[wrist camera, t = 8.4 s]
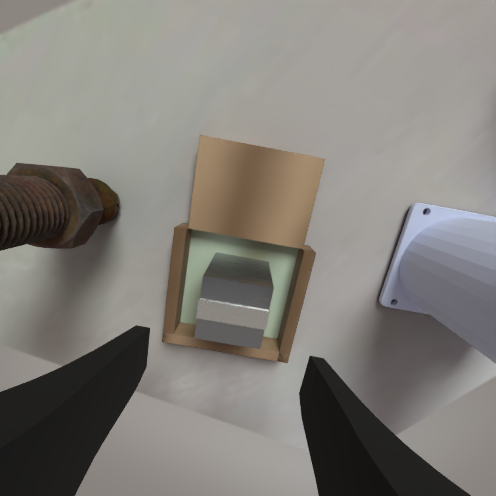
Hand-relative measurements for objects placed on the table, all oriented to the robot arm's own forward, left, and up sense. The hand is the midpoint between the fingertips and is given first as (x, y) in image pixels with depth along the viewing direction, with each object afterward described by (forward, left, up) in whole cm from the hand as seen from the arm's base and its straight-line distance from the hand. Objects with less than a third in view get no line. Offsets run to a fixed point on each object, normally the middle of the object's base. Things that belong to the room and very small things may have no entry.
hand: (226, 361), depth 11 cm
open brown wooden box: (0, -3, -9) cm, 9 cm away
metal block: (0, 0, -9) cm, 9 cm away
